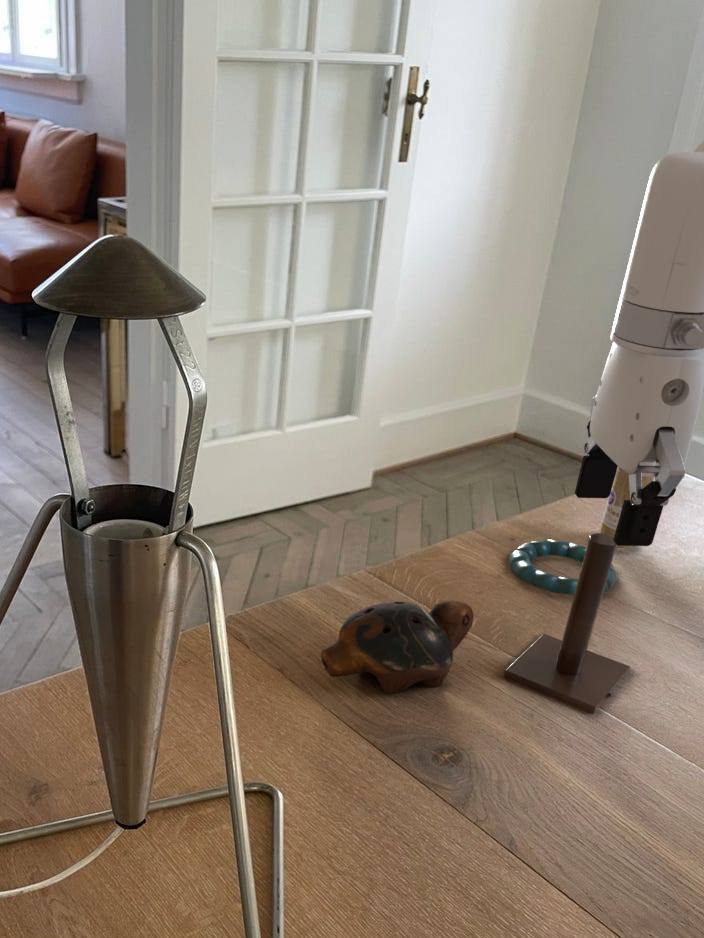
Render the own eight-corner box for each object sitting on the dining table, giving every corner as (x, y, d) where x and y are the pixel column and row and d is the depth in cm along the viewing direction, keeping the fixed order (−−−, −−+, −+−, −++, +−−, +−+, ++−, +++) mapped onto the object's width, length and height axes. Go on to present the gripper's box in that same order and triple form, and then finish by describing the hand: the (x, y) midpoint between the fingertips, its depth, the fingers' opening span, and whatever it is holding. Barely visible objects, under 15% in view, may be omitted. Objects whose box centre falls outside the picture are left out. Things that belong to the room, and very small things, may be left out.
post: (626, 678, 95) (670, 538, 87) (591, 720, 90) (635, 573, 81) (540, 645, 100) (574, 508, 92) (502, 682, 94) (535, 540, 86)
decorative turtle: (488, 688, 93) (501, 620, 88) (348, 728, 89) (354, 659, 84) (434, 632, 101) (444, 568, 96) (302, 667, 96) (306, 601, 91)
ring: (627, 576, 114) (632, 558, 112) (589, 615, 106) (594, 596, 105) (533, 545, 120) (537, 527, 118) (490, 579, 112) (494, 561, 111)
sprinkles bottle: (587, 542, 121) (614, 439, 114) (619, 539, 122) (648, 437, 115) (608, 558, 117) (637, 454, 110) (641, 555, 118) (672, 451, 111)
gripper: (763, 358, 70) (694, 566, 80) (664, 300, 85) (615, 481, 94) (662, 356, 70) (604, 564, 79) (580, 298, 85) (539, 480, 94)
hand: (610, 519), depth 87 cm, fingers open, 9 cm apart
